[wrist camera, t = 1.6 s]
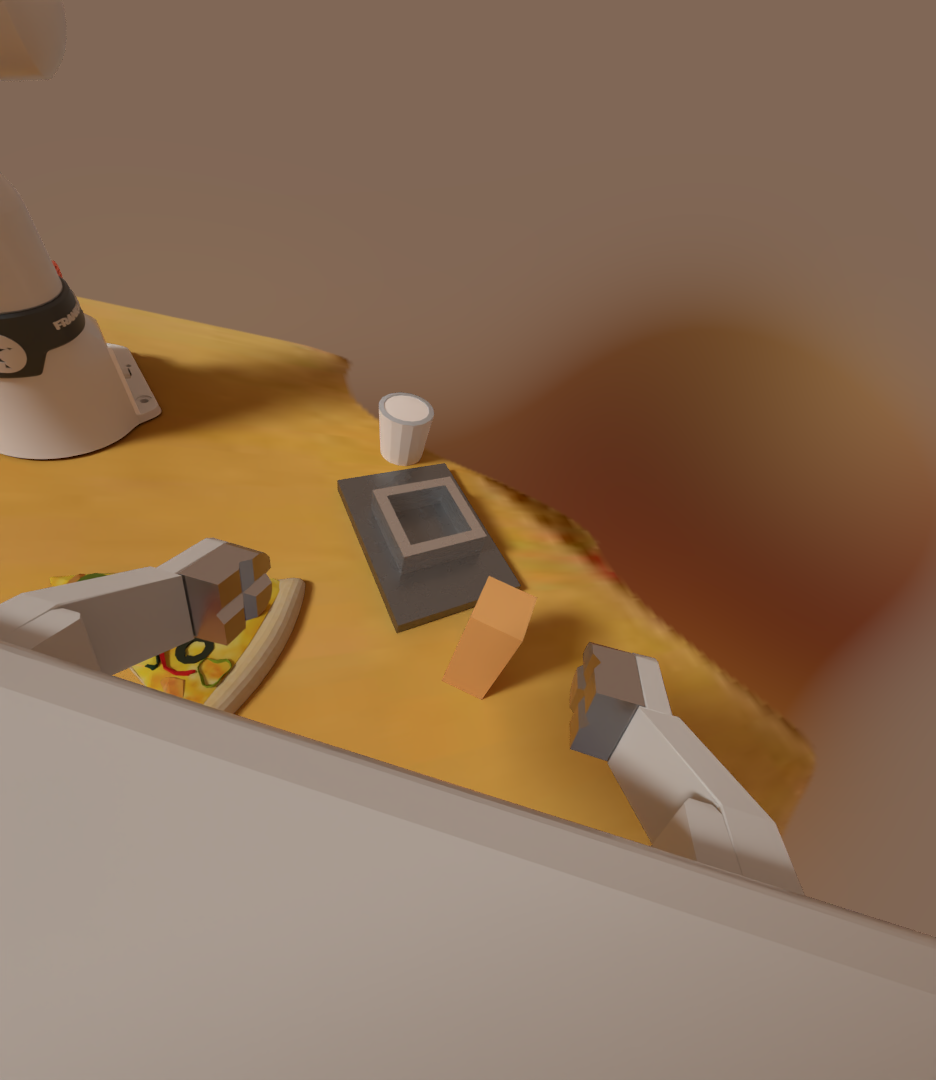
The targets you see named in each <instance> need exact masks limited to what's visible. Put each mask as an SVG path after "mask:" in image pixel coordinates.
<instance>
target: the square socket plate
mask: <svg viewBox="0 0 936 1080" xmlns="http://www.w3.org/2000/svg"><path fill="white" fill-rule="evenodd" d="M337 482H338V492H339V494H340V496H341V499H342V501H343V504H344V506H345V509H346V511H347V513H348V516H349V518H350V521H351V523H352V526H353V528H354V530H355V533H356V535H357V538H358V540H359V543H360V545H361V547H362V550H363V552H364V555H365V557H366V560H367V562H368V564H369V567H370V569H371V572H372V574H373V577H374V579H375V581H376V584H377V586H378V589H379V591H380V594H381V596H382V599H383V601H384V603H385V606H386V608H387V611H388V613H389V616H390V618H391V620H392V623H393V625H394V628H395V630H396V633H399V632H402V631H404V630H407V629H410V628H413V627H416V626H419V625H422V624H425V623H428V622H431V621H434V620H437V619H440V618H443V617H446V616H449V615H452V614H455V613H458V612H461V611H464V610H467V609H470V608H473V607H475V606H476V603H477V601H478V599H479V597H480V594H481V592H482V590H483V588H484V586H485V583H486V581H487V579H488V577H489V576H491V577H493V578H495V579H497V580H499V581H502V582H504V583H506V584H508V585H510V586H513V587H515V588H517V589H519V588H520V586H521V585H520V584H519V582H518V580H517V579H516V577H515V575H514V574H513V572H512V571H511V569H510V567H509V566H508V564H507V563H506V561H505V559H504V558H503V556H502V555H501V553H500V551H499V550H498V548H497V546H496V545H495V543H494V542H493V540H492V538H491V537H490V535H489V534H488V532H487V530H486V529H485V527H484V526H483V524H482V522H481V521H480V519H479V517H478V516H477V514H476V513H475V511H474V509H473V508H472V506H471V505H470V503H469V501H468V500H467V498H466V497H465V495H464V493H463V492H462V490H461V489H460V487H459V485H458V484H457V482H456V480H455V479H454V477H453V476H452V474H451V472H450V471H449V469H448V468H447V466H446V464H445V463H443V464H437V465H431V466H424V467H418V468H412V469H406V470H399V471H393V472H387V473H380V474H374V475H368V476H362V477H355V478H349V479H343V480H337Z"/></svg>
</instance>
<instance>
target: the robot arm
mask: <svg viewBox="0 0 936 1080" xmlns="http://www.w3.org/2000/svg"><path fill="white" fill-rule="evenodd" d="M65 47H66V18H65V11H64V5H63V1H62V0H0V81H26V80H27V81H28V80H49V79H51V78H52V77H53V76H54V75H55V73H56V72H57V70H58V68H59V66H60V64H61V62H62V60H63V56H64V53H65ZM160 413H161V408H160V406H159V404H158V403H157V401H156V399H155V397H154V395H153V393H152V391H151V389H150V388H149V386H148V384H147V382H146V380H145V378H144V376H143V374H142V373H141V371H140V369H139V367H138V365H137V363H136V361H135V360H134V358H133V356H132V354H131V352H130V351H129V349H128V348H126V347H123V346H119V345H115V344H109V343H106V341H105V339H104V337H103V334H102V332H101V330H100V328H99V325H98V323H97V321H96V320H95V319H94V318H93V317H91V316H89V315H87V314H85V313H83V311H82V309H81V307H80V304H79V302H78V300H77V298H76V296H75V294H74V293H73V291H72V290H71V289H70V288H69V286H68V285H67V283H66V281H65V280H64V279H63V278H62V274H61V272H60V269H59V268H58V265H57V264H56V263H55V261H51V259H50V257H49V254H48V252H47V250H46V248H45V247H44V244H43V242H42V240H41V237H40V235H39V233H38V231H37V229H36V227H35V225H34V223H33V220H32V218H31V216H30V214H29V212H28V210H27V208H26V206H25V203H24V201H23V199H22V197H21V195H20V194H19V193H18V191H17V190H16V189H15V187H14V186H13V185H12V184H11V183H10V182H9V181H8V179H7V178H6V177H4V175H2V173H1V172H0V453H1V454H4V455H8V456H13V457H18V458H27V459H55V458H64V457H71V456H76V455H81V454H85V453H89V452H92V451H95V450H98V449H101V448H103V447H106V446H108V445H110V444H112V443H114V442H116V441H118V440H119V439H121V438H122V437H124V436H125V435H126V434H128V433H129V432H130V431H131V430H132V429H133V428H134V427H136V426H137V425H139V424H140V423H143V422H145V421H147V420H150V419H152V418H154V417H156V416H158V415H159V414H160ZM270 568H271V565H270V557H269V556H268V555H267V554H266V553H263V552H260V551H257V550H253V549H250V548H247V547H243V546H240V545H237V544H233V543H229V542H226V541H222V540H219V539H215V538H205V539H204V540H202V541H200V542H199V543H197V544H195V545H194V546H192V547H190V548H189V549H187V550H185V551H184V552H182V553H180V554H179V555H177V556H175V557H174V558H172V559H170V560H169V561H167V562H165V563H164V564H162V565H160V566H159V567H157V568H154V567H145V568H141V569H136V570H131V571H126V572H121V573H117V574H112V575H107V576H102V577H98V578H93V579H88V580H83V581H79V582H74V583H69V584H64V585H60V586H55V587H50V588H45V589H40V590H36V591H31V592H26V593H21V594H19V595H17V596H15V597H13V598H11V599H9V600H7V601H5V602H3V603H1V604H0V1080H936V937H933V936H930V935H927V934H924V933H921V932H917V931H915V930H911V929H908V928H905V927H902V926H899V925H896V924H892V923H889V922H886V921H883V920H880V919H876V918H873V917H870V916H867V915H864V914H861V913H858V912H855V911H851V910H848V909H845V908H842V907H839V906H836V905H833V904H829V903H826V902H823V901H820V900H817V899H814V898H810V897H807V896H805V894H804V892H803V889H802V887H801V885H800V882H799V880H798V878H797V875H796V872H795V870H794V868H793V865H792V862H791V860H790V858H789V855H788V853H787V850H786V848H785V845H784V843H783V840H782V838H781V836H780V833H779V831H778V828H777V826H776V823H775V822H774V821H773V820H772V819H771V817H770V816H769V815H768V814H767V813H766V812H765V811H764V810H763V809H762V808H761V807H760V805H759V804H758V803H757V802H756V801H755V800H754V799H753V798H752V797H751V796H750V794H749V793H748V792H747V791H746V790H745V789H744V788H743V787H742V786H741V785H740V783H739V782H738V781H737V780H736V779H735V778H734V777H733V776H732V775H731V774H730V773H729V771H728V770H727V769H726V768H725V767H724V766H723V765H722V764H721V763H720V762H719V760H718V759H717V758H716V757H715V756H714V755H713V754H712V753H711V752H710V751H709V750H708V748H707V747H706V746H705V745H704V744H703V743H702V742H701V741H700V740H699V739H698V737H697V736H696V735H695V734H694V733H693V732H692V731H691V730H690V729H689V728H688V727H687V725H686V724H685V723H684V722H683V721H682V720H681V719H680V718H679V717H676V716H673V715H672V712H671V708H670V705H669V701H668V697H667V693H666V690H665V686H664V682H663V679H662V675H661V671H660V668H659V664H658V661H657V660H656V659H655V658H651V657H647V656H643V655H639V654H635V653H629V652H625V651H621V650H618V649H614V648H610V647H607V646H603V645H599V644H595V643H592V642H589V643H588V645H587V646H586V648H585V651H584V653H583V665H582V666H580V667H578V668H577V670H576V673H575V675H574V678H573V682H572V686H571V691H570V709H571V710H572V712H573V713H574V714H573V717H572V719H571V721H570V749H572V750H575V751H578V752H581V753H584V754H587V755H590V756H593V757H596V758H599V759H602V760H605V761H608V765H609V767H610V769H611V770H612V772H613V774H614V776H615V778H616V780H617V781H618V783H619V785H620V787H621V789H622V790H623V792H624V794H625V796H626V798H627V799H628V801H629V803H630V805H631V807H632V809H633V810H634V812H635V814H636V816H637V818H638V819H639V821H640V823H641V825H642V827H643V828H644V830H645V832H646V834H647V836H648V838H649V839H650V841H651V843H652V845H651V847H650V846H647V845H644V844H641V843H637V842H634V841H631V840H628V839H625V838H622V837H619V836H615V835H612V834H609V833H606V832H603V831H600V830H597V829H593V828H590V827H587V826H584V825H581V824H578V823H575V822H571V821H568V820H565V819H562V818H559V817H556V816H553V815H549V814H546V813H543V812H540V811H537V810H534V809H531V808H527V807H524V806H521V805H518V804H515V803H512V802H509V801H505V800H502V799H499V798H496V797H493V796H490V795H487V794H483V793H480V792H477V791H474V790H471V789H468V788H464V787H461V786H458V785H455V784H452V783H449V782H446V781H442V780H439V779H436V778H433V777H430V776H427V775H423V774H420V773H417V772H414V771H411V770H408V769H405V768H401V767H398V766H395V765H392V764H389V763H386V762H383V761H379V760H376V759H373V758H370V757H367V756H364V755H360V754H357V753H354V752H351V751H348V750H345V749H342V748H338V747H335V746H332V745H329V744H326V743H323V742H320V741H316V740H313V739H310V738H307V737H304V736H301V735H298V734H294V733H291V732H288V731H285V730H282V729H279V728H276V727H272V726H269V725H266V724H263V723H260V722H257V721H254V720H250V719H247V718H244V717H241V716H238V715H235V714H231V713H228V712H225V711H222V710H219V709H216V708H213V707H209V706H206V705H203V704H200V703H197V702H194V701H191V700H187V699H184V698H181V697H178V696H175V695H172V694H168V693H165V692H162V691H159V690H156V689H153V688H150V687H146V686H143V685H140V684H137V683H134V682H131V681H128V680H124V679H121V678H118V677H115V676H112V675H113V674H116V673H118V672H120V671H123V670H125V669H127V668H129V667H132V666H134V665H136V664H138V663H141V662H143V661H145V660H148V659H150V658H152V657H154V656H157V655H159V654H161V653H163V652H166V651H168V650H170V649H173V648H175V647H177V646H179V645H182V644H184V643H186V642H188V641H191V640H193V639H194V637H196V638H199V639H203V640H207V641H211V642H214V643H218V644H222V645H226V646H228V645H229V644H230V643H231V642H232V641H233V640H234V639H235V638H236V637H237V636H238V635H239V634H240V633H241V632H242V631H243V630H244V629H246V621H247V620H250V619H253V618H256V617H258V616H259V615H260V614H261V613H262V612H263V611H264V610H265V609H266V607H267V605H268V603H269V601H270V599H271V594H272V582H271V580H270V579H269V577H268V576H267V574H266V573H267V571H268V570H269V569H270Z"/></svg>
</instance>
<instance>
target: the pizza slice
mask: <svg viewBox="0 0 936 1080" xmlns="http://www.w3.org/2000/svg"><path fill="white" fill-rule="evenodd" d="M112 574H117V573H94V574H78V575H73V576H58V577H51V578H50V584H51V585H52V586H53V587H55V586H60V585H64V584H69V583H74V582H79V581H83V580H88V579H93V578H98V577H102V576H107V575H112ZM270 580H271V582H272V594H271V599H270V601H269V603H268V605H267V607H266V609H265V610H264V611H263V612H262V613H261V614H260V615H259V616H258V617H256V618H253V619H250V620H247V621H246V629H244V630H243V631H242V632H241V633H240V634H239V635H238V636H237V637H236V638H235V639H234V640H233V641H232V642H231V643H230V644H229V645H228V646H226V645H222V644H218V643H214V642H211V641H207V640H203V639H199V638H196V637H194V639H193V640H191V641H188V642H186V643H184V644H182V645H179V646H177V647H175V648H173V649H170V650H168V651H166V652H163V653H161V654H159V655H157V656H154V657H152V658H150V659H148V660H145V661H143V662H141V663H138V664H136V665H134V666H132V667H129V668H130V670H131V671H132V672H133V673H134V674H135V675H136V676H137V677H138V679H139V680H140V681H141V682H142V683H143V684H144V685H145V686H146V687H150V688H153V689H156V690H159V691H162V692H165V693H168V694H172V695H175V696H178V697H181V698H184V699H187V700H191V701H194V702H197V703H200V704H203V705H206V706H209V707H213V708H216V709H219V710H222V711H225V712H228V713H231V714H234V713H235V712H236V711H237V710H238V709H239V708H240V707H241V705H242V704H243V703H244V702H245V701H246V700H247V699H248V698H249V696H250V695H251V694H252V693H253V692H254V691H255V689H256V688H257V687H258V686H259V685H260V683H261V682H262V680H263V679H264V678H265V676H266V675H267V674H268V672H269V671H270V669H271V668H272V666H273V665H274V663H275V662H276V660H277V658H278V657H279V655H280V654H281V652H282V650H283V649H284V647H285V645H286V643H287V641H288V639H289V637H290V635H291V633H292V630H293V628H294V625H295V623H296V620H297V618H298V615H299V612H300V609H301V606H302V602H303V598H304V594H305V582H304V581H303V580H302V579H299V578H288V579H281V580H276V579H270Z"/></svg>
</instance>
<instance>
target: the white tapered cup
mask: <svg viewBox="0 0 936 1080" xmlns="http://www.w3.org/2000/svg"><path fill="white" fill-rule="evenodd" d="M433 416H434V411H433V407H432V406H431V405H430V404H429V402H428V401H426V400H424V399H423V398H421V397H419V396H416V395H413V394H409V393H401V392H399V393H391V394H388V395H386V396H384V397H383V398H382V399H381V400H380V402H379V423H380V449H381V454H382V456H383V457H384V458H385V459H386V460H387V461H389V462H390V463H393V464H396V465H402V466H408V465H413V464H415V463H417V462H418V461H419V460H420V459H421V457H422V454H423V450H424V447H425V444H426V440H427V437H428V433H429V430H430V427H431V423H432V420H433Z"/></svg>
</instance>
